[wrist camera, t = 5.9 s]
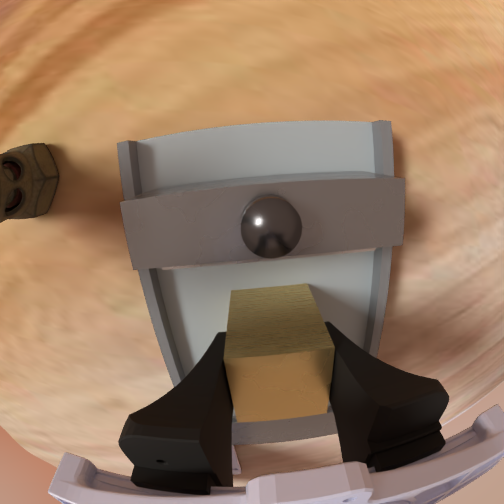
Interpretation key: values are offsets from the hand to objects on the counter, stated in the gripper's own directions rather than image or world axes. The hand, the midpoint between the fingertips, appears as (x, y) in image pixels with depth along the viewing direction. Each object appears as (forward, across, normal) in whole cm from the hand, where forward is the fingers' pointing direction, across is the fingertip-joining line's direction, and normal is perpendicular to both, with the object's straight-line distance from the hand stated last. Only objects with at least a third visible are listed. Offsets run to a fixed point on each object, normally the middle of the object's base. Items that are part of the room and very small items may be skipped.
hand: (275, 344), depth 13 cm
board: (+4, 0, -1) cm, 4 cm away
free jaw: (+2, 0, -6) cm, 7 cm away
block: (+3, 0, 0) cm, 3 cm away
